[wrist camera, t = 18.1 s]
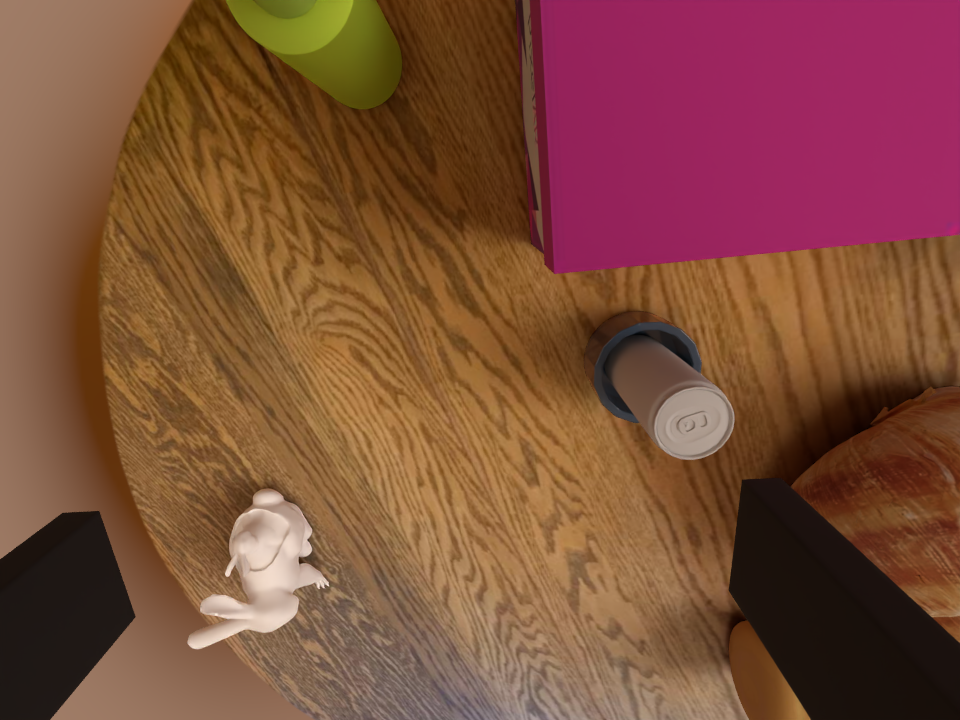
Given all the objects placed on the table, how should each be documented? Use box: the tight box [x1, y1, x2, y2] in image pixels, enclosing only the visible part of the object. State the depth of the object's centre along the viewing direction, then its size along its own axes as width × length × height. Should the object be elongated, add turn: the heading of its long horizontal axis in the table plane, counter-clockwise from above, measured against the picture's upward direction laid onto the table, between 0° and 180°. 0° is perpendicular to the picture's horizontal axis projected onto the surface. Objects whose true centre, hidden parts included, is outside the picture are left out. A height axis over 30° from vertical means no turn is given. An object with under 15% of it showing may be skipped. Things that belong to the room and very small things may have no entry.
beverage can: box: [604, 335, 735, 460], centre depth 34 cm, size 5×5×12 cm
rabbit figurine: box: [187, 489, 329, 649], centre depth 41 cm, size 12×8×10 cm, turn 7°
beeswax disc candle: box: [729, 621, 811, 720], centre depth 43 cm, size 9×4×10 cm, turn 3°
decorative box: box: [515, 0, 960, 274], centre depth 27 cm, size 19×19×15 cm
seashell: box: [791, 386, 960, 643], centre depth 36 cm, size 21×20×15 cm
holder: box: [584, 311, 702, 423], centre depth 38 cm, size 8×8×4 cm
